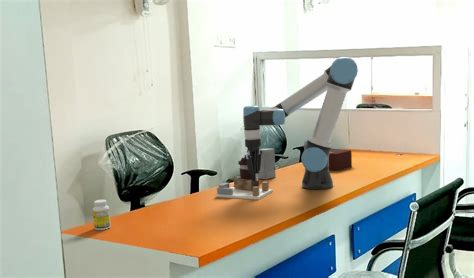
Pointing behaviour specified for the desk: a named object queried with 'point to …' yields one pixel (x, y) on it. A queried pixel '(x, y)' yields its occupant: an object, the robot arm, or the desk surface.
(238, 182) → the leg
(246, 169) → the coffee cup
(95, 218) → the pill bottle
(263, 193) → the board
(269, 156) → the skincare box
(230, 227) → the desk surface
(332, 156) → the box
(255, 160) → the robot arm
